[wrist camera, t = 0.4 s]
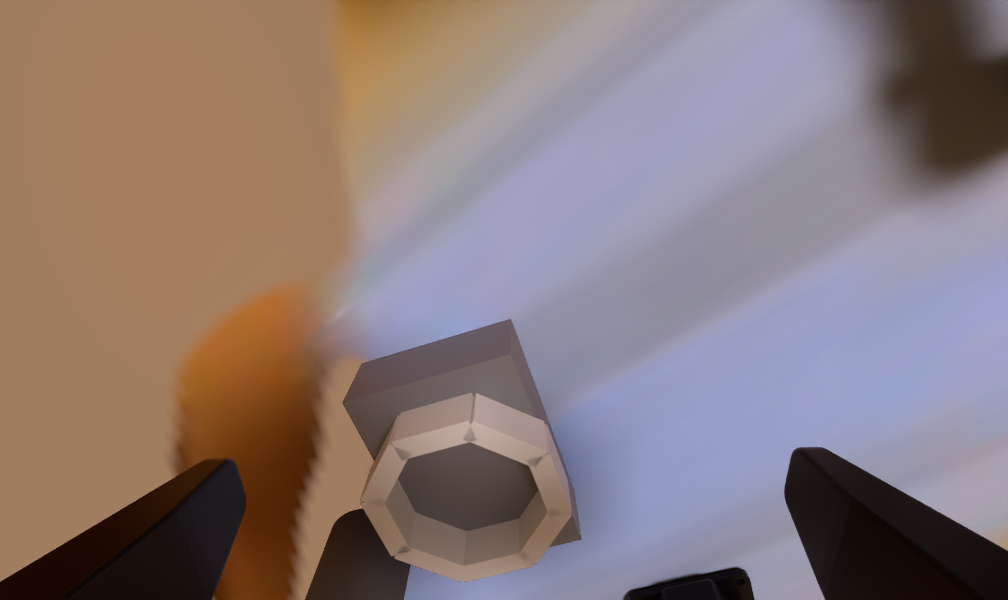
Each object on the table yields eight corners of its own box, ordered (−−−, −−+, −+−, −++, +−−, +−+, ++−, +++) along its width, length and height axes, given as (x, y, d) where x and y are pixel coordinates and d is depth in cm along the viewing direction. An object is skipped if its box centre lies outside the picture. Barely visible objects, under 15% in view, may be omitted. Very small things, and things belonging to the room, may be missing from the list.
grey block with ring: (580, 488, 27) (594, 572, 22) (436, 524, 28) (423, 611, 23) (518, 316, 23) (520, 377, 18) (354, 365, 24) (319, 434, 20)
